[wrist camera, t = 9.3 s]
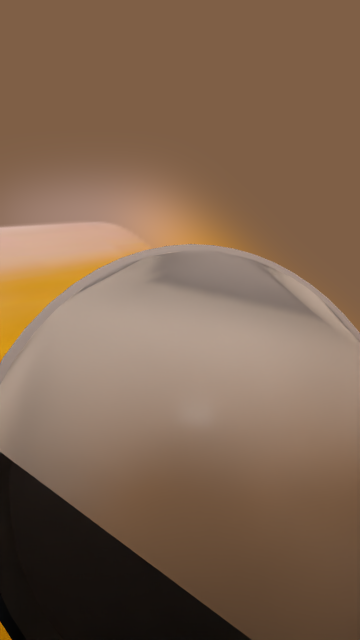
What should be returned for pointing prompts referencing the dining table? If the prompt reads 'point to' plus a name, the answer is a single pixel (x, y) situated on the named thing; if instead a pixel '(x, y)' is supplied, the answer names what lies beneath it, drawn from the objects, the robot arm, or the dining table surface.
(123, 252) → the dining table surface
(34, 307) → the dining table surface
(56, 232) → the dining table surface
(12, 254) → the dining table surface
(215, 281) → the duct sleeve
